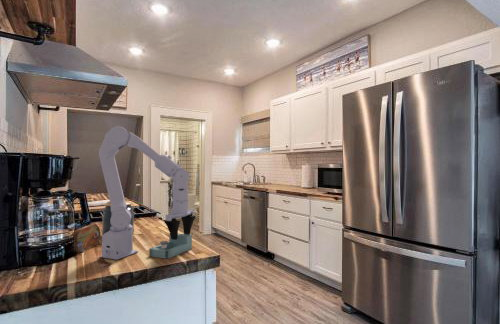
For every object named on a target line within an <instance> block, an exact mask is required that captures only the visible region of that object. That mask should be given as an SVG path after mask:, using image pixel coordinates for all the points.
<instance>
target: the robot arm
mask: <svg viewBox="0 0 500 324" xmlns="http://www.w3.org/2000/svg"><path fill="white" fill-rule="evenodd" d="M126 146H127V147H128V148H134V149H136V150H139V152H141V153H142V154H144V155H145V156H146V157H148V158H149V159H151V160H152V161H154V162H153V163H154V167H155V168H156V169H157V170H159V171H160V172H161V173H163V174H164V175H165V176H166V177H168V178H171V180H172V212H171V213H168V214H165V220H164V224H165V225H166V227H167V229H168V232H169V235H170V236H171V239H173V240H177V237H178V233H179V227H180V223H181V222H182V226H183V227H182V228H183V234H188V235H191V234H190V233H191V231H192V227H193V223H194V221H195V219H196V215H195V209H189V183H188V182H189V180H190V174H189V172H188V170H186V169H185V168H182V165H181V164H178V163H177V162H175V160H173V159H172V156H170V155H167V154H159V152H157V151H156V150H155V149H153V148H152V147H151V146H150V145H149V144H147V142H145V141H144V140H143V139H142V138H140V137H139V136H137V135H136V134H135V133H133V132H131V131H128V130H127V129H126V128H125V127H123V126H121V125H115V126H113V127H111V128H110V129H109V130H108V131H107V132H106V133H105V135H104V139H103V141H102V144H101V146H100V147H99V150H98V157H99V162H100V165H101V170H102V174H103V178H104V182H105V186H106V190H107V195H108V199H109V201H110V205H111V213H112V216H111V219H110V223H111V225H112V227H110V231H108V232H106V233H105V234H104V235H102V237H101V255H99V256H100V258H104V259H111V260H120V259H123V258H125V257H128V256H130V255H131V256H132V255H133V254H136V253H139V250H136V249H134V248H133V246H134V245H133V242H134V241H133V239H134V238H133V235H134V233H133V226H132V225H130V222H131V218H132V214H131V211H130V210H129V209H128V208H127V205H126V202H125V200H126V199H125V195H124V192H123V187H122V183H121V178H120V174H119V170H118V166H117V162H116V155H117V154H118V153H119V152H120V150H121V149H122V148H124V147H126ZM178 219H180V220H178Z"/></svg>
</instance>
